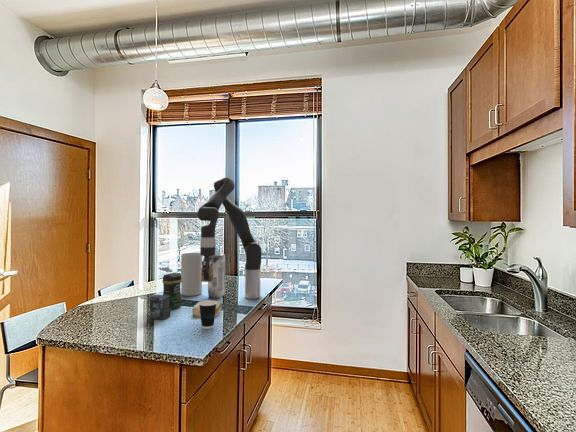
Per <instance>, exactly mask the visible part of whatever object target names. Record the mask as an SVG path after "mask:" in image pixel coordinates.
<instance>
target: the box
mask: <svg viewBox="0 0 576 432" xmlns="http://www.w3.org/2000/svg"><path fill="white" fill-rule="evenodd" d="M170 317H171V310H170V296H166V295H163V294H155V295H152V296H149V319H151V320H152V319H153V320H159V321H165V320H167V319H168V318H170Z"/></svg>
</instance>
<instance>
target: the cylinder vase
mask: <svg viewBox="0 0 576 432" xmlns="http://www.w3.org/2000/svg"><path fill="white" fill-rule="evenodd" d="M180 261H181V265H180V272H181V273H180V274H181V279H182V280H181V284H180V292H181V296H186V297H194V296H199V295H201V294H202V293H203V282H201V268H202V261H203V256H201V255H200V252H185V253H181V260H180Z"/></svg>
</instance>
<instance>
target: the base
mask: <svg viewBox="0 0 576 432" xmlns="http://www.w3.org/2000/svg"><path fill="white" fill-rule="evenodd" d="M201 301H202V300H201ZM201 301H200V300H199V301H198V302H197V303H195V305H194V306H193V308H192V317H201V315H200V305H199V302H201ZM215 301H216V300H215ZM216 302H217V304H216V310H215V317H218V315H220V312H221V311H222V305H223V304H222V303H223V301H218V300H217V301H216Z"/></svg>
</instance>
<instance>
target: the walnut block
mask: <svg viewBox="0 0 576 432" xmlns="http://www.w3.org/2000/svg"><path fill="white" fill-rule="evenodd" d="M205 270H206V268H205ZM213 272H214V266H212V267H210V268H209V279H208V280H204V273H203V272H202V268H201V282H202V283H204V282H205V283H208V282H212V281H213Z"/></svg>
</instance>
